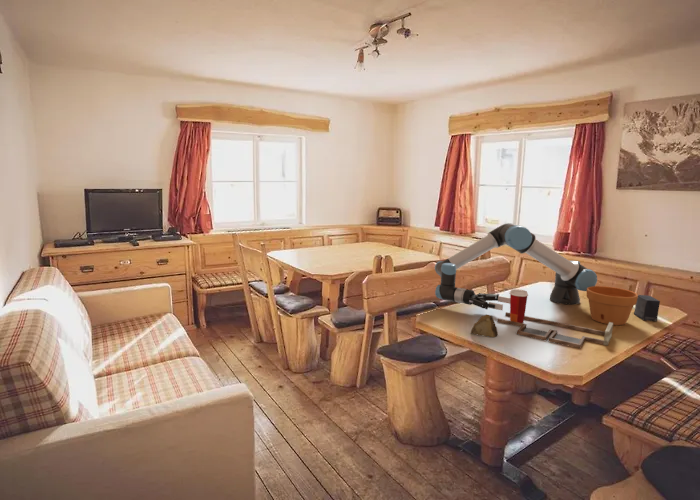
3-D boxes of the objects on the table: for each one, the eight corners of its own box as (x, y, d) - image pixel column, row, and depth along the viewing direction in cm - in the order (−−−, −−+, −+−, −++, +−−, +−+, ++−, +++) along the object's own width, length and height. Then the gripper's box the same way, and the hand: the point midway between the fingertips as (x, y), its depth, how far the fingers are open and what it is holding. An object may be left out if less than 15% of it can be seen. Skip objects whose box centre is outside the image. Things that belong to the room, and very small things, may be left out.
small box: (658, 321, 204) (661, 301, 202) (643, 320, 205) (645, 300, 204) (647, 315, 214) (650, 295, 213) (633, 314, 216) (636, 294, 214)
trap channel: (489, 328, 193) (490, 315, 192) (506, 314, 212) (507, 303, 211) (604, 353, 166) (606, 339, 165) (611, 335, 185) (613, 322, 184)
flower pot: (591, 310, 220) (594, 283, 217) (638, 320, 205) (642, 291, 203) (577, 320, 205) (580, 290, 203) (627, 331, 191) (631, 299, 188)
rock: (464, 329, 184) (484, 333, 177) (470, 311, 187) (490, 314, 179) (477, 339, 190) (497, 343, 182) (483, 322, 193) (502, 325, 185)
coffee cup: (525, 319, 205) (527, 289, 202) (526, 325, 197) (529, 294, 195) (507, 317, 208) (509, 288, 205) (507, 323, 200) (509, 292, 197)
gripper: (473, 298, 227) (514, 305, 214) (454, 309, 207) (497, 318, 194) (474, 284, 225) (515, 291, 213) (455, 294, 206) (498, 302, 193)
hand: (507, 304), depth 204 cm, fingers open, 13 cm apart
